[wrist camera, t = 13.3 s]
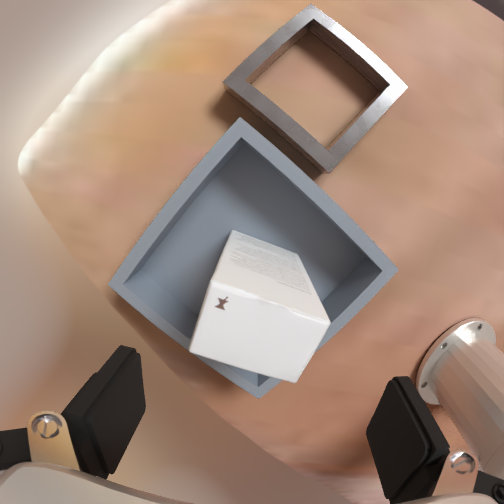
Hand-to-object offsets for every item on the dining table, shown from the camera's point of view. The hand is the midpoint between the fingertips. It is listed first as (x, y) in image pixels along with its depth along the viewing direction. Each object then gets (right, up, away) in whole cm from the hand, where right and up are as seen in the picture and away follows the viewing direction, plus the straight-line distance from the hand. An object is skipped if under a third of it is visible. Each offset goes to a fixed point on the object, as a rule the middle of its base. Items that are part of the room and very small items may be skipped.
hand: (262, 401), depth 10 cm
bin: (0, +5, +16) cm, 17 cm away
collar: (+5, +19, +12) cm, 24 cm away
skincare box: (0, +4, +16) cm, 16 cm away
